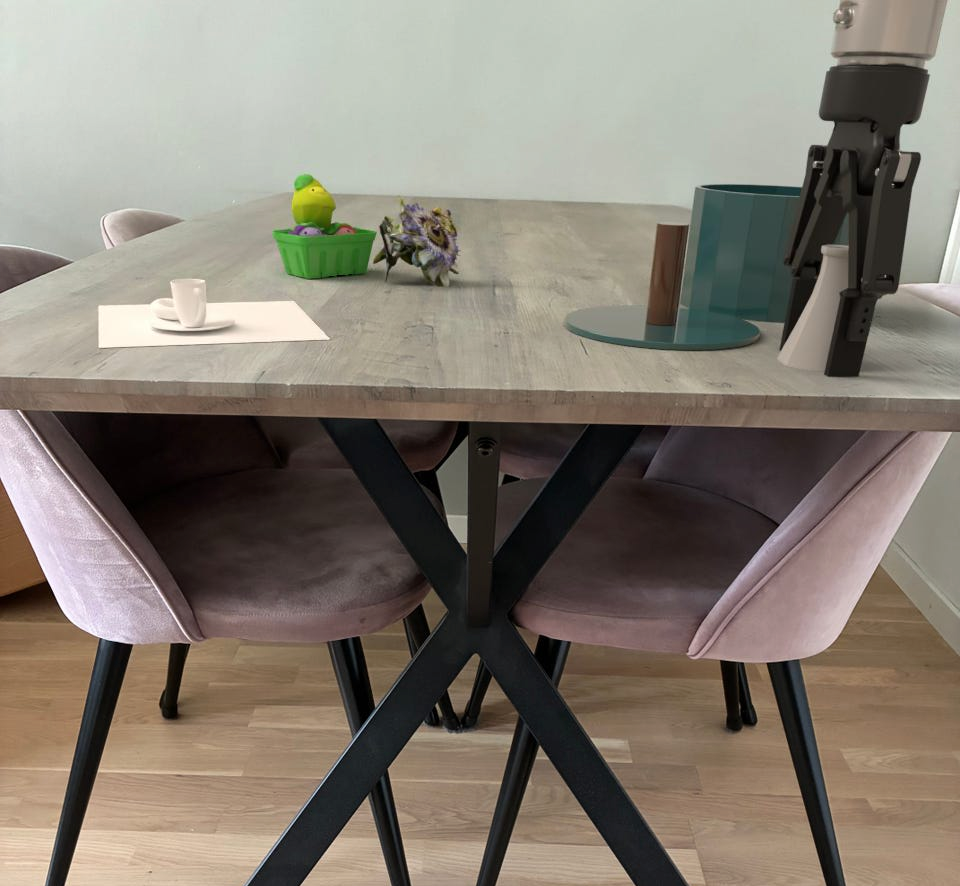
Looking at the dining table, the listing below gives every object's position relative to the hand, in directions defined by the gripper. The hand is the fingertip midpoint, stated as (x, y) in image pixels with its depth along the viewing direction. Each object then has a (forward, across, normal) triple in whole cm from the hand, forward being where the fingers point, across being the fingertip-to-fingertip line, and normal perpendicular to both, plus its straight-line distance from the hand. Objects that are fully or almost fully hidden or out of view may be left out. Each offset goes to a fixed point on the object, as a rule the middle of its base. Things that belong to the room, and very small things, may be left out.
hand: (816, 366), depth 83 cm
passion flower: (+1, -43, -32) cm, 54 cm away
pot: (0, -27, +6) cm, 28 cm away
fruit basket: (+1, -51, -43) cm, 67 cm away
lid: (0, -14, -10) cm, 17 cm away
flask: (0, 0, 0) cm, 0 cm away
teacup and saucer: (+1, -19, -54) cm, 57 cm away
